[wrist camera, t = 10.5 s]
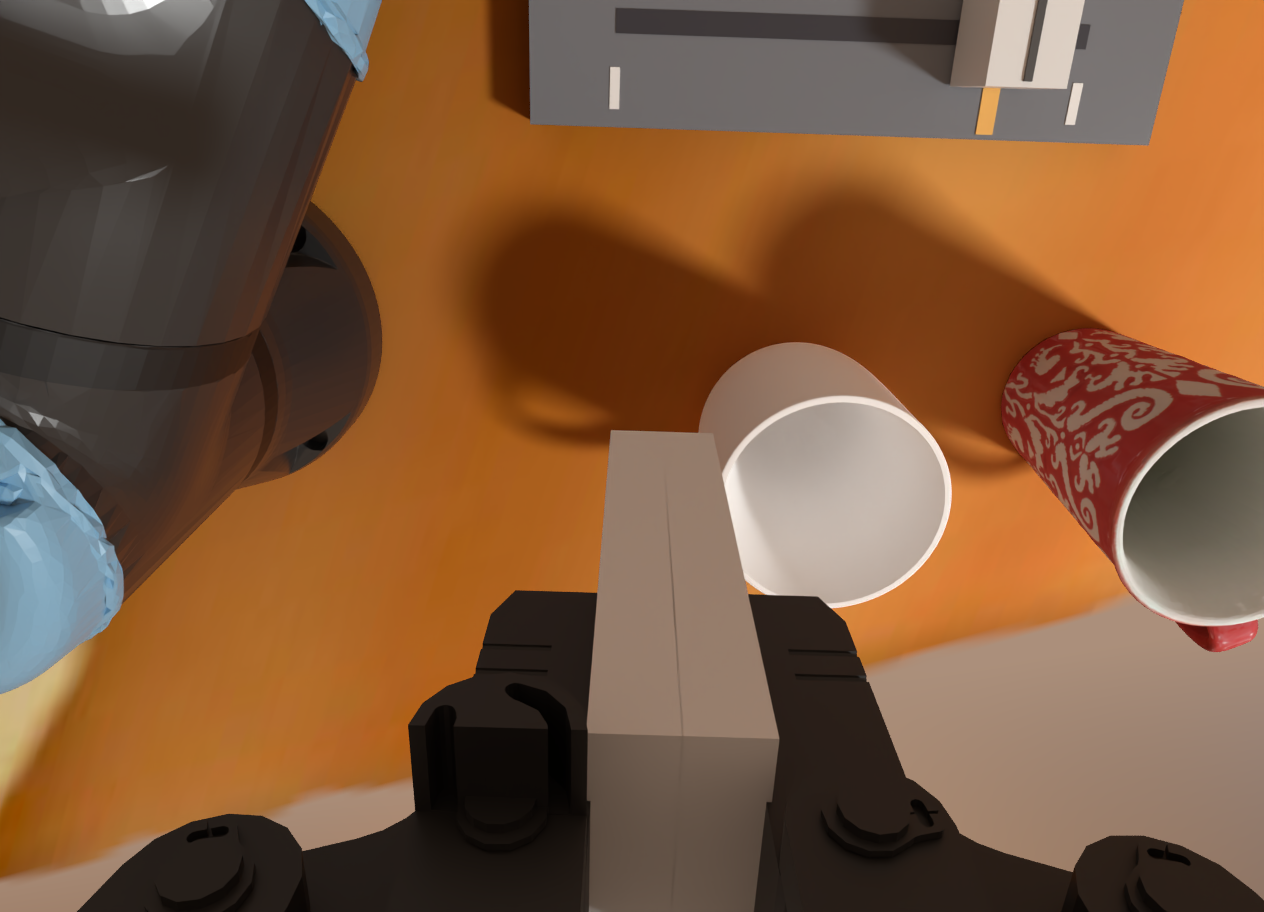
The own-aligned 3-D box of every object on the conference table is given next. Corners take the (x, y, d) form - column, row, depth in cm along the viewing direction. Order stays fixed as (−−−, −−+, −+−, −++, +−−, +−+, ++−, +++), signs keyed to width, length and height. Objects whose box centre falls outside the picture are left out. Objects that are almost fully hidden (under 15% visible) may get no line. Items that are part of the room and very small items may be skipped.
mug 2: (962, 342, 42) (1097, 447, 30) (1154, 279, 41) (1378, 362, 29) (1009, 559, 47) (1143, 729, 34) (1183, 509, 46) (1388, 666, 33)
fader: (949, 86, 36) (986, 86, 32) (967, -25, 34) (1007, -39, 31) (1022, 89, 36) (1068, 89, 32) (1043, -22, 34) (1093, -36, 31)
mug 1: (807, 273, 41) (876, 348, 30) (900, 415, 44) (994, 530, 33) (607, 413, 44) (604, 529, 33) (707, 537, 47) (735, 682, 36)
